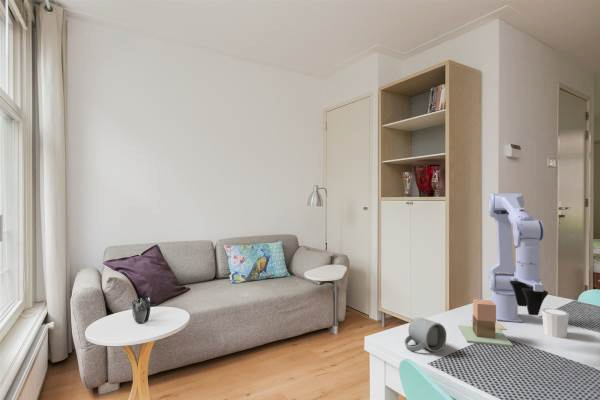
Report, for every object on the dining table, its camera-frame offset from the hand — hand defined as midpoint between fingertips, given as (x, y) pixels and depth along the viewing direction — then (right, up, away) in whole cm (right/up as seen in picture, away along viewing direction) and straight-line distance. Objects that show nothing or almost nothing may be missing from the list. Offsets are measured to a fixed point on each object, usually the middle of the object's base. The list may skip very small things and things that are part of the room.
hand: (527, 310), depth 95 cm
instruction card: (-2, -10, +16) cm, 19 cm away
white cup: (+15, -11, +9) cm, 20 cm away
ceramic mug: (-30, -11, 0) cm, 32 cm away
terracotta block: (-8, -5, +7) cm, 12 cm away
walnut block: (-8, -10, +7) cm, 15 cm away
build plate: (-8, -10, +7) cm, 15 cm away
